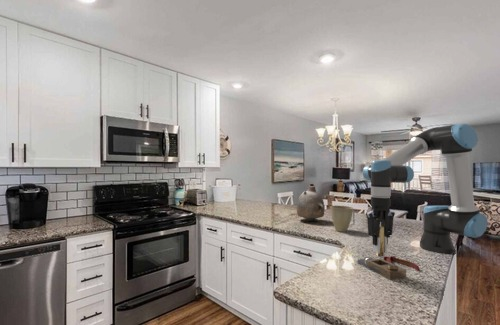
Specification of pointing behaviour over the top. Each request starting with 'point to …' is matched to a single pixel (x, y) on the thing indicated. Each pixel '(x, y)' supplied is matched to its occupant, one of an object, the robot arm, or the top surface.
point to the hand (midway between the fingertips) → (380, 252)
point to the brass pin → (381, 241)
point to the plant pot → (341, 217)
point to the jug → (310, 204)
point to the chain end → (363, 262)
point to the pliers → (400, 261)
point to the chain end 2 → (387, 269)
